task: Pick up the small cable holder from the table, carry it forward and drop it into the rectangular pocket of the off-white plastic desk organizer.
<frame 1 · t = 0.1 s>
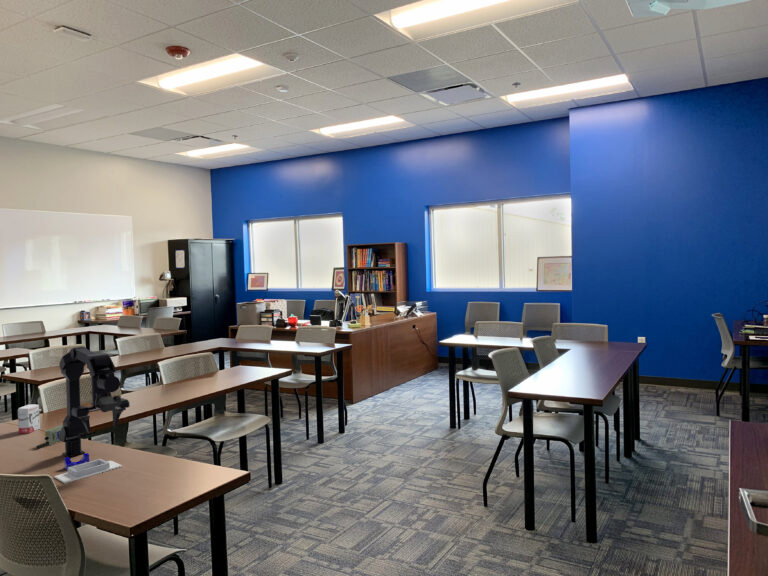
hand: (102, 430, 210), 15 cm above the table, tool pointing down, fingers open, 9 cm apart
ink box: (29, 431, 264), on the table
handheld radio: (60, 441, 248), on the table
desk organizer: (89, 472, 207), on the table
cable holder: (77, 467, 214), on the table
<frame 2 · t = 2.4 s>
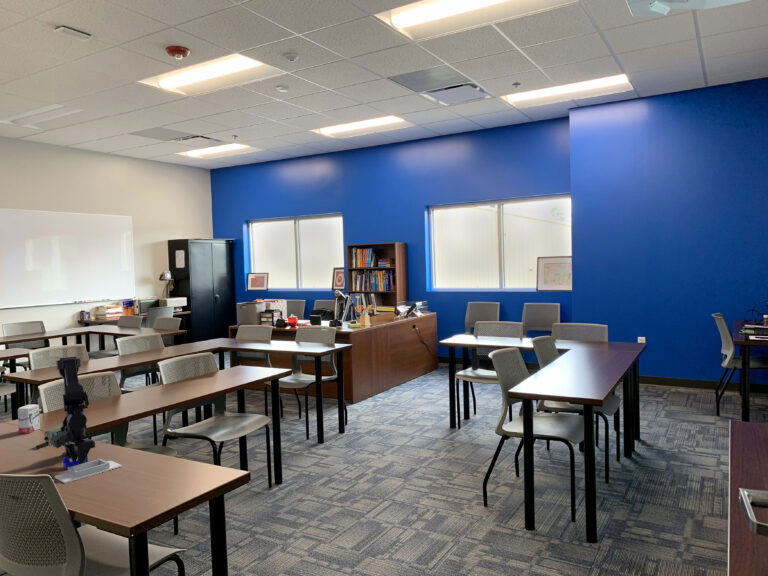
hand: (77, 463, 214), 1 cm above the table, tool pointing down, fingers open, 6 cm apart
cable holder: (76, 466, 215), on the table, touching gripper
everything else where it was.
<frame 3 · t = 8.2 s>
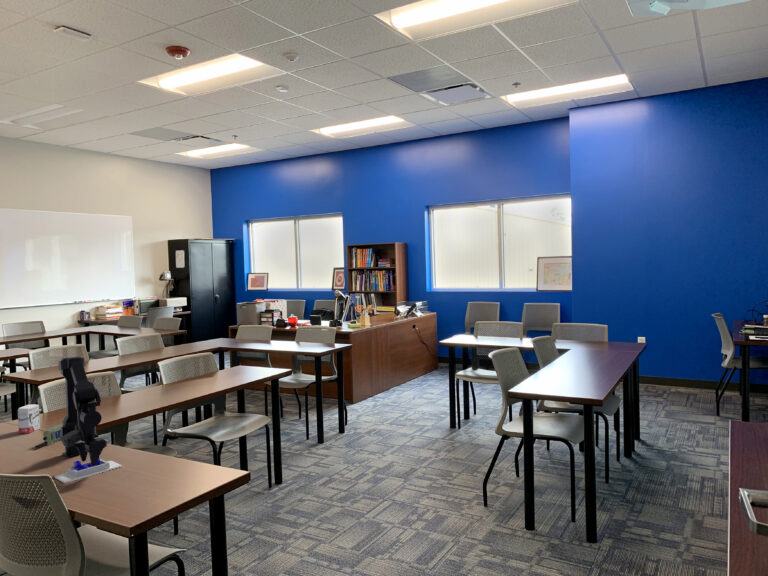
hand: (88, 463, 207), 3 cm above the table, tool pointing down, fingers open, 8 cm apart
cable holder: (88, 471, 207), resting on desk organizer
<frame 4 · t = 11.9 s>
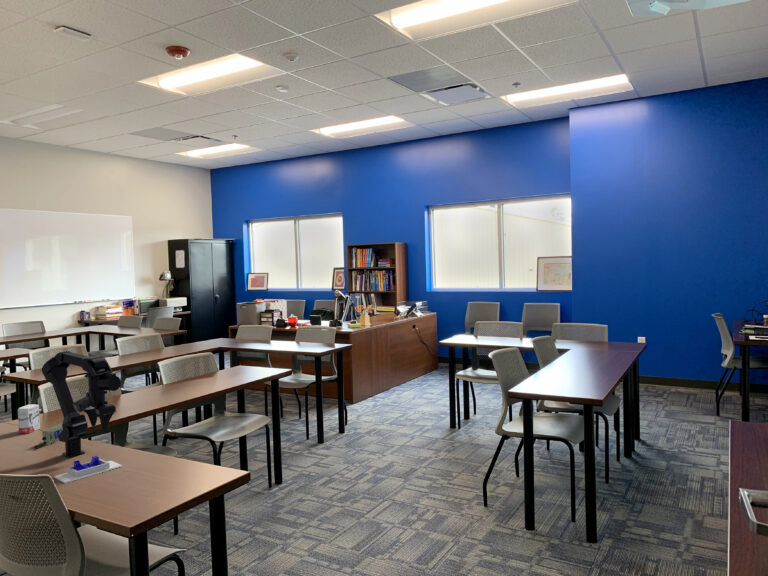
hand: (98, 428, 222), 12 cm above the table, tool pointing down, fingers open, 9 cm apart
at the end: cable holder 0.8 cm off-centre on the desk organizer, point 0.4 cm above the desk organizer's base; the gripper is holding nothing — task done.
